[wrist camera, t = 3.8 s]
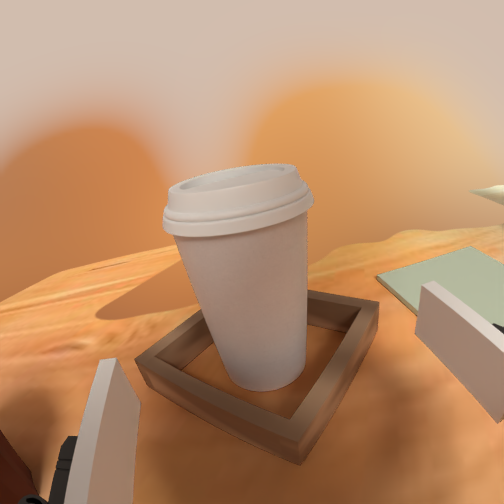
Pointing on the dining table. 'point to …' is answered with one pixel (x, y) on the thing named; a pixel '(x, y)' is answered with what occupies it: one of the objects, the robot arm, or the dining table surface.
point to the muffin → (13, 475)
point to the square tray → (250, 416)
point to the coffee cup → (248, 266)
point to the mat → (454, 281)
